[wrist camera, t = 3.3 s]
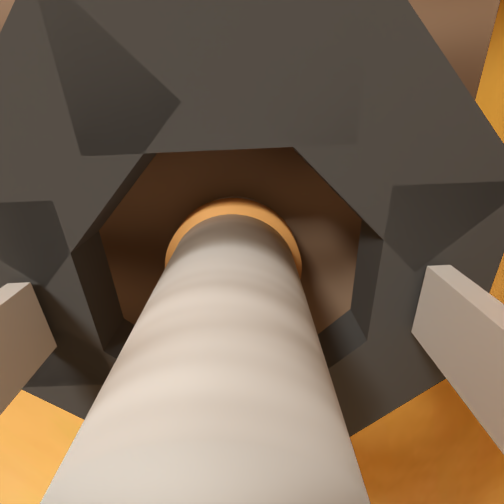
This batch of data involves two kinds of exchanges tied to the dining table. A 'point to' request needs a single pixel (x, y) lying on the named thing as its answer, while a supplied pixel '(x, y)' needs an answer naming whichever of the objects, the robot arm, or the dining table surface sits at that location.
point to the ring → (242, 137)
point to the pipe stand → (234, 322)
